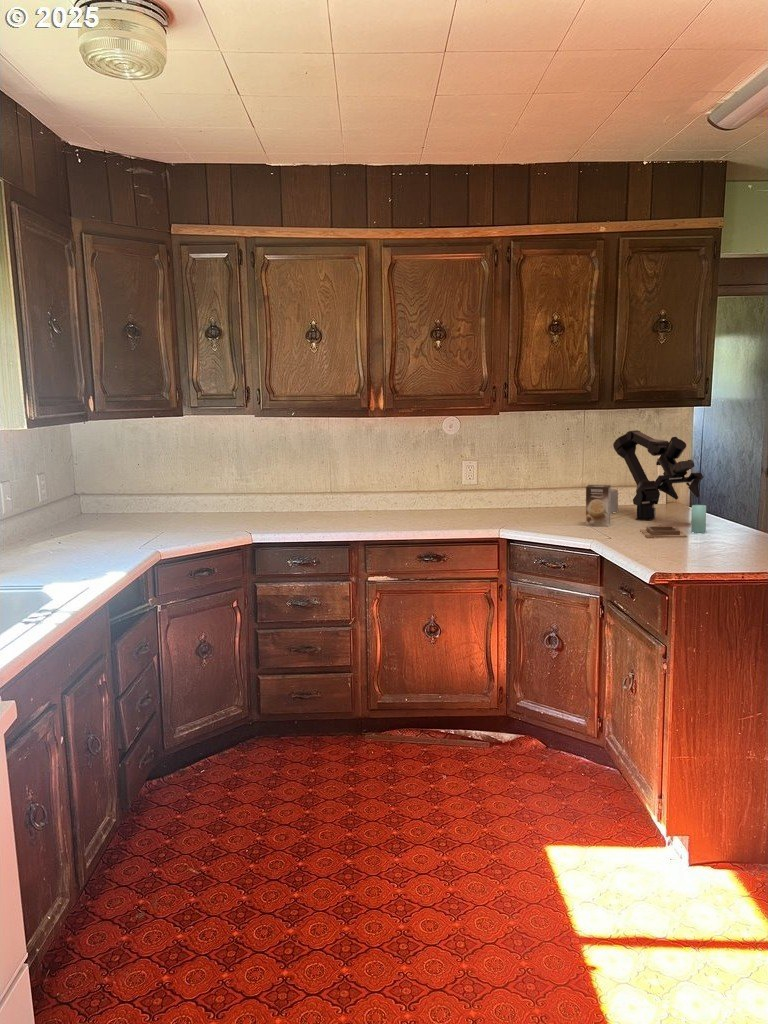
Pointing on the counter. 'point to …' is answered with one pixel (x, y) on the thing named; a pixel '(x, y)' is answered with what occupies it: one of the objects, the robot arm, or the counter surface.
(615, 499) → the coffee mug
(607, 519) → the coffee box
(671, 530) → the cradle board
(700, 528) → the green dome-top cylinder
